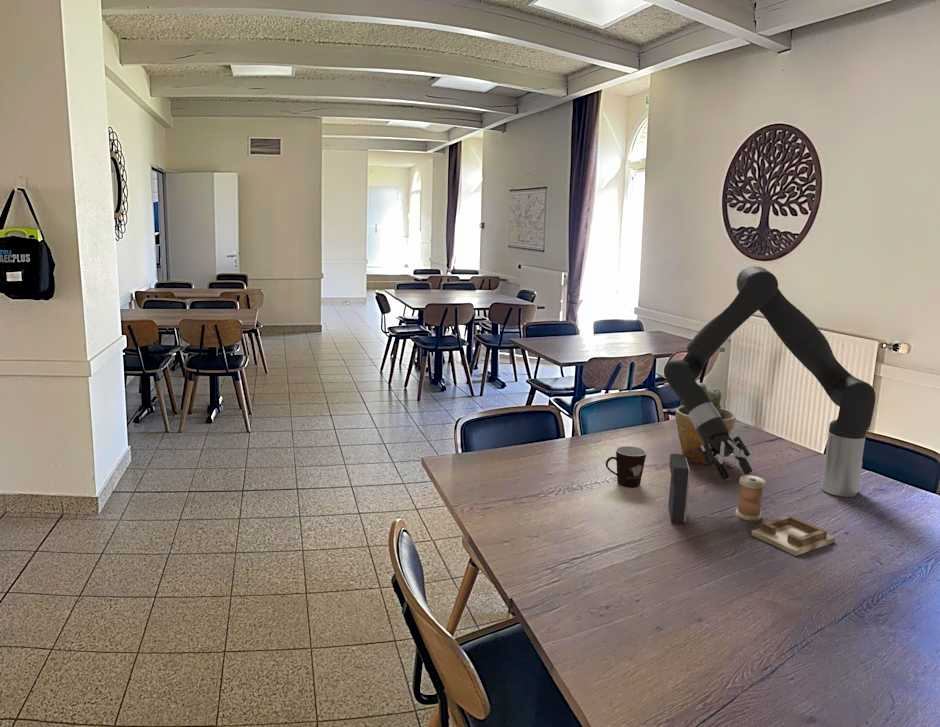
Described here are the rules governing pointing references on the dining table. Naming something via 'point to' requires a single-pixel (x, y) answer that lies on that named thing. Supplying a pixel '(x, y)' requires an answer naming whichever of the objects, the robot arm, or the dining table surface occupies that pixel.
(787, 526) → the board
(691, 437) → the potted plant
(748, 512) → the bobbin
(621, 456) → the coffee mug
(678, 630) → the dining table surface
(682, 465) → the calculator
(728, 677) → the dining table surface
